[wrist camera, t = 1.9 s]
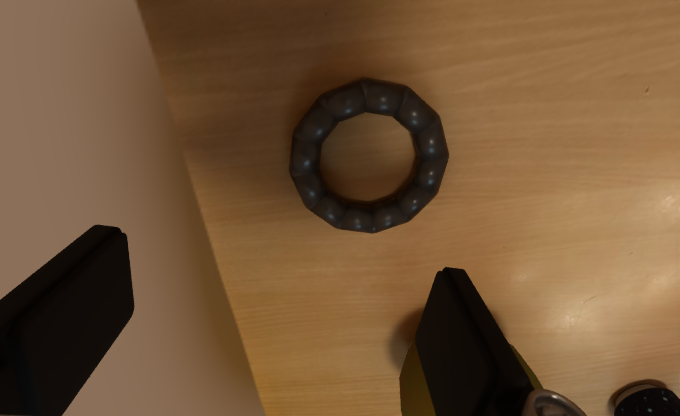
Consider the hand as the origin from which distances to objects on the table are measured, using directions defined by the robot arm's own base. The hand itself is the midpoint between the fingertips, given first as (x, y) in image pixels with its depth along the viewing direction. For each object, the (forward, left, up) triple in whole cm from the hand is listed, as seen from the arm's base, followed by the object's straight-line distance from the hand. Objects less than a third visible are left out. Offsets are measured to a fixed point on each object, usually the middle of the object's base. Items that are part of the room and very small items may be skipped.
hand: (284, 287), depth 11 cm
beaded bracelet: (0, +4, -12) cm, 13 cm away
